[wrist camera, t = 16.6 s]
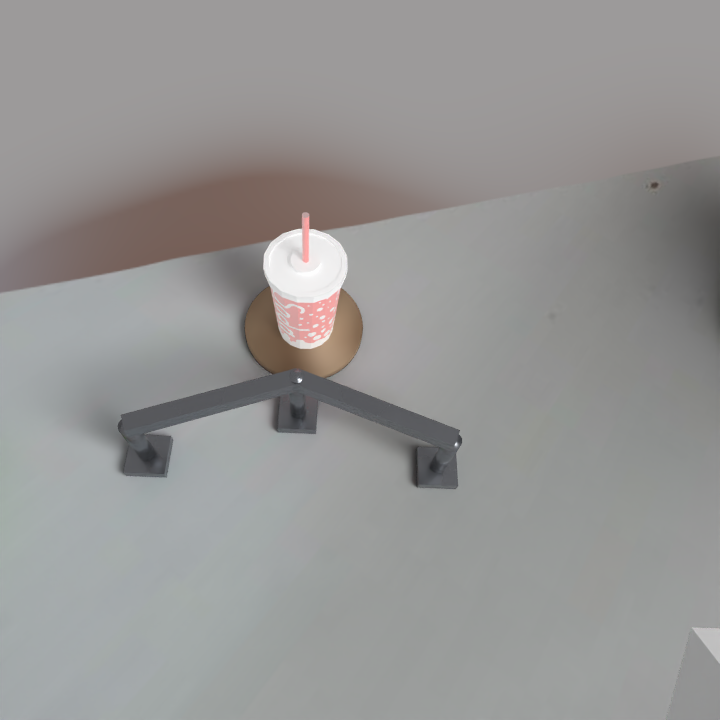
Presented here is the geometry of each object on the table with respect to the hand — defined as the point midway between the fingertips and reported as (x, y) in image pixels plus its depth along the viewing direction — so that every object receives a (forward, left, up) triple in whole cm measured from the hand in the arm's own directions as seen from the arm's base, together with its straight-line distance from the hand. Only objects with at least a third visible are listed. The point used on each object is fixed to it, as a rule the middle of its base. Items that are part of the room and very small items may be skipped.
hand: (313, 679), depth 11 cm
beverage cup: (+2, -27, -33) cm, 42 cm away
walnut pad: (+2, -27, -34) cm, 43 cm away
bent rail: (+2, -17, -34) cm, 38 cm away
